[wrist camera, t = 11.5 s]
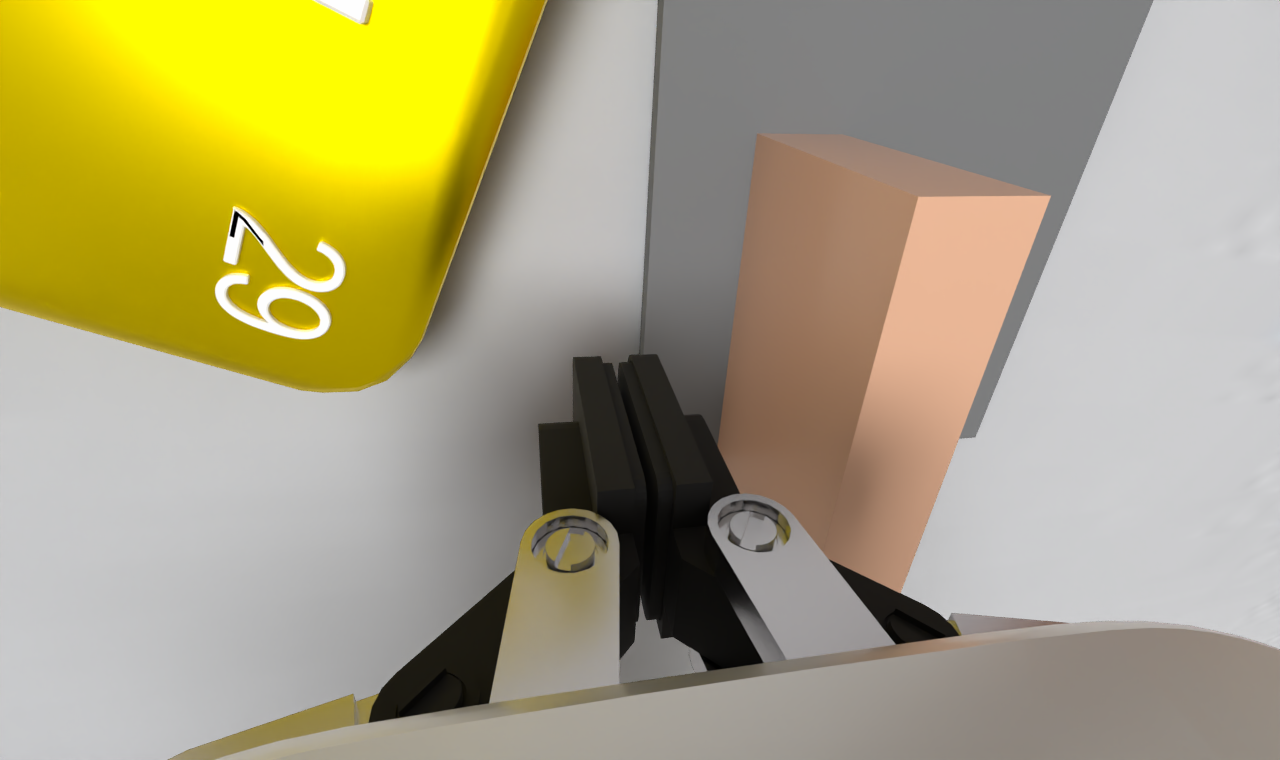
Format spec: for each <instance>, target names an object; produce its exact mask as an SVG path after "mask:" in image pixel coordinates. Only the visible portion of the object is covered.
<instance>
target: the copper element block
mask: <svg viewBox="0 0 1280 760" xmlns="http://www.w3.org/2000/svg"><path fill="white" fill-rule="evenodd" d="M547 1H548V0H0V307H2V308H6V309H9V310H13V311H17V312H20V313H24V314H27V315H31V316H35V317H38V318H42V319H46V320H49V321H53V322H56V323H60V324H64V325H67V326H71V327H74V328H78V329H82V330H85V331H89V332H92V333H96V334H100V335H103V336H107V337H110V338H114V339H118V340H121V341H125V342H128V343H132V344H136V345H139V346H143V347H146V348H150V349H154V350H157V351H161V352H165V353H168V354H172V355H175V356H179V357H183V358H186V359H190V360H193V361H197V362H201V363H204V364H208V365H211V366H215V367H219V368H222V369H226V370H229V371H233V372H237V373H240V374H244V375H247V376H251V377H255V378H258V379H262V380H265V381H269V382H273V383H276V384H280V385H284V386H287V387H291V388H294V389H298V390H303V391H312V392H322V393H324V392H352V391H360V390H363V389H365V388H368V387H371V386H373V385H376V384H379V383H381V382H384V381H386V380H388V379H389V378H390V377H391V376H392V375H393V374H394V373H395V372H396V371H398V370H399V369H400V368H401V367H402V366H403V365H404V364H405V363H406V362H407V361H408V360H409V359H410V358H411V357H412V356H413V354H414V353H415V351H416V349H417V348H418V346H419V344H420V343H421V341H422V339H423V338H424V335H425V333H426V330H427V327H428V324H429V322H430V319H431V316H432V314H433V311H434V308H435V305H436V303H437V300H438V297H439V295H440V292H441V289H442V286H443V284H444V281H445V278H446V276H447V273H448V270H449V267H450V265H451V262H452V259H453V256H454V254H455V251H456V248H457V246H458V243H459V240H460V237H461V235H462V232H463V229H464V227H465V224H466V221H467V218H468V216H469V213H470V210H471V207H472V205H473V202H474V199H475V197H476V194H477V191H478V188H479V186H480V183H481V180H482V178H483V175H484V172H485V169H486V167H487V164H488V161H489V159H490V156H491V153H492V150H493V148H494V145H495V142H496V139H497V137H498V134H499V131H500V129H501V126H502V123H503V120H504V118H505V115H506V112H507V110H508V107H509V104H510V101H511V99H512V96H513V93H514V90H515V88H516V85H517V82H518V80H519V77H520V74H521V71H522V69H523V66H524V63H525V61H526V58H527V55H528V52H529V50H530V47H531V44H532V42H533V39H534V36H535V33H536V31H537V28H538V25H539V22H540V20H541V17H542V14H543V12H544V9H545V6H546V3H547Z"/></svg>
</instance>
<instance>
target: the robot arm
mask: <svg viewBox="0 0 1280 760" xmlns="http://www.w3.org/2000/svg"><path fill="white" fill-rule="evenodd" d="M538 429H539V450H540V470H541V490H542V509H543V516H542V517H540V518H539V519H537V520H535V521H534V522H533V523H532V524H531V525H530V526H529V527H528V528H527V530H526V531H525V533H524V535H523V538H522V540H521V543H520V548H519V553H518V558H517V563H516V568H515V571H514V572H512V573H511V574H510V575H509V576H508V577H507V578H505V579H504V580H503V581H502V582H501V583H500V584H499V585H497V586H496V587H495V588H494V589H493V590H492V591H490V592H489V593H488V594H487V595H486V596H485V597H484V598H482V599H481V600H480V601H479V602H478V603H477V604H475V605H474V606H473V607H472V608H471V609H470V610H469V611H467V612H466V613H465V614H464V615H463V616H462V617H460V618H459V619H458V620H457V621H456V622H455V623H454V624H452V625H451V626H450V627H449V628H448V629H447V630H445V631H444V632H443V633H442V634H441V635H440V636H439V637H437V638H436V639H435V640H434V641H433V642H432V643H430V644H429V645H428V646H427V647H426V648H425V649H423V650H422V651H421V652H420V653H419V654H418V655H417V656H415V657H414V658H413V659H412V660H411V661H410V662H408V663H407V664H406V665H405V666H404V667H403V668H402V669H400V670H399V671H398V672H397V673H396V674H395V675H394V676H393V677H392V678H391V679H390V680H389V681H388V682H387V684H386V685H385V686H384V687H383V688H382V689H381V691H380V693H379V694H377V695H374V696H371V697H368V698H365V699H362V700H359V701H356V700H355V697H354V694H351V695H348V696H345V697H343V698H340V699H337V700H334V701H331V702H328V703H325V704H322V705H319V706H316V707H313V708H310V709H307V710H304V711H301V712H298V713H295V714H292V715H289V716H286V717H284V718H281V719H278V720H275V721H272V722H269V723H266V724H263V725H260V726H257V727H254V728H251V729H248V730H245V731H242V732H239V733H236V734H233V735H230V736H227V737H225V738H222V739H219V740H216V741H213V742H210V743H207V744H204V745H201V746H198V747H195V748H192V749H189V750H187V751H185V752H182V753H180V754H178V755H176V756H174V757H172V758H170V759H168V760H1280V649H1278V648H1275V647H1272V646H1269V645H1266V644H1264V643H1261V642H1257V641H1254V640H1251V639H1247V638H1244V637H1240V636H1237V635H1233V634H1229V633H1224V632H1219V631H1214V630H1209V629H1204V628H1199V627H1195V626H1190V625H1180V624H1169V623H1159V622H1148V621H1096V622H1081V623H1064V622H1052V621H1041V620H1029V619H1017V618H1005V617H994V616H982V615H970V614H958V613H951V615H950V617H949V619H948V620H946V619H944V618H943V617H942V616H941V615H940V614H939V613H937V612H935V611H934V610H932V609H930V608H929V607H927V606H925V605H924V604H922V603H919V602H917V601H915V600H913V599H911V598H909V597H907V596H905V595H903V594H901V593H899V592H897V591H894V590H892V589H890V588H888V587H886V586H884V585H882V584H880V583H878V582H876V581H874V580H871V579H869V578H867V577H865V576H863V575H861V574H859V573H857V572H855V571H853V570H851V569H848V568H846V567H844V566H842V565H840V564H838V563H836V562H834V561H832V560H830V559H828V558H827V557H826V556H825V554H824V553H823V552H822V550H821V549H820V548H819V547H818V545H817V544H816V543H815V542H814V540H813V539H812V538H811V537H810V535H809V534H808V533H807V531H806V530H805V529H804V528H803V526H802V525H801V524H800V523H799V521H798V520H797V519H796V518H795V516H794V515H793V514H792V513H791V512H790V511H789V510H788V509H787V508H786V507H784V506H783V505H781V504H779V503H778V502H776V501H774V500H772V499H769V498H766V497H763V496H760V495H754V494H747V493H745V494H740V492H739V490H738V488H737V486H736V484H735V482H734V479H733V477H732V475H731V473H730V471H729V469H728V467H727V465H726V463H725V461H724V459H723V457H722V455H721V453H720V451H719V448H718V446H717V444H716V442H715V440H714V438H713V436H712V434H711V432H710V430H709V428H708V426H707V424H706V422H705V420H704V418H703V417H702V415H700V414H691V415H684V414H683V412H682V410H681V407H680V405H679V403H678V400H677V398H676V396H675V393H674V391H673V389H672V387H671V384H670V382H669V380H668V377H667V375H666V373H665V371H664V368H663V366H662V364H661V361H660V359H659V357H658V355H657V354H644V355H629V358H628V362H621V363H619V368H618V383H617V379H616V376H615V372H614V369H613V365H612V363H603V362H602V358H601V356H596V357H573V422H561V423H545V424H538ZM640 595H641V600H642V605H643V609H644V614H645V617H646V620H654V619H656V620H657V624H658V628H659V632H660V637H661V639H662V638H669V637H674V638H676V639H677V640H679V641H680V642H682V643H684V644H685V645H687V646H688V647H689V657H690V661H691V665H692V667H693V670H694V672H695V673H692V674H685V675H678V676H671V677H664V678H657V679H651V680H644V681H637V682H630V683H623V684H619V660H620V659H621V658H622V656H623V655H624V654H625V653H626V651H627V650H628V649H629V648H630V646H631V645H632V644H633V643H634V640H635V626H636V622H637V621H638V618H639V604H640Z"/></svg>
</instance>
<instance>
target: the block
mask: <svg viewBox="0 0 1280 760" xmlns="http://www.w3.org/2000/svg"><path fill="white" fill-rule="evenodd" d="M1050 197H1051V196H1050V195H1047V194H1044V193H1040V192H1037V191H1033V190H1030V189H1027V188H1023V187H1020V186H1016V185H1013V184H1010V183H1006V182H1003V181H999V180H996V179H993V178H989V177H986V176H982V175H979V174H976V173H972V172H969V171H966V170H962V169H959V168H955V167H952V166H949V165H945V164H942V163H938V162H935V161H932V160H928V159H925V158H921V157H918V156H915V155H911V154H908V153H904V152H901V151H898V150H894V149H891V148H888V147H884V146H881V145H877V144H874V143H871V142H867V141H864V140H860V139H857V138H854V137H850V136H847V135H843V134H771V133H757V138H756V146H755V154H754V162H753V170H752V178H751V186H750V194H749V202H748V210H747V218H746V225H745V233H744V241H743V249H742V257H741V265H740V273H739V281H738V289H737V297H736V304H735V312H734V320H733V328H732V336H731V344H730V352H729V360H728V368H727V376H726V383H725V391H724V399H723V407H722V415H721V423H720V431H719V439H718V448H719V451H720V453H721V455H722V457H723V459H724V461H725V463H726V465H727V467H728V469H729V471H730V473H731V475H732V477H733V479H734V482H735V484H736V486H737V488H738V490H739V492H740V494H745V493H747V494H754V495H760V496H763V497H766V498H769V499H772V500H774V501H776V502H778V503H779V504H781V505H783V506H784V507H786V508H787V509H788V510H789V511H790V512H791V513H792V514H793V515H794V516H795V518H796V519H797V520H798V521H799V523H800V524H801V525H802V526H803V528H804V529H805V530H806V531H807V533H808V534H809V535H810V537H811V538H812V539H813V540H814V542H815V543H816V544H817V545H818V547H819V548H820V549H821V550H822V552H823V553H824V554H825V556H826V557H827V558H828V559H830V560H832V561H834V562H836V563H838V564H840V565H842V566H844V567H846V568H848V569H851V570H853V571H855V572H857V573H859V574H861V575H863V576H865V577H867V578H869V579H871V580H874V581H876V582H878V583H880V584H882V585H884V586H886V587H888V588H890V589H892V590H894V591H897V592H899V593H901V590H902V588H903V585H904V582H905V580H906V577H907V574H908V572H909V569H910V566H911V564H912V561H913V559H914V556H915V553H916V551H917V548H918V545H919V543H920V540H921V537H922V535H923V532H924V530H925V527H926V524H927V522H928V519H929V516H930V514H931V511H932V508H933V506H934V503H935V501H936V498H937V495H938V493H939V490H940V487H941V485H942V482H943V479H944V477H945V474H946V472H947V469H948V466H949V464H950V461H951V458H952V456H953V453H954V450H955V448H956V445H957V443H958V440H959V437H960V435H961V432H962V429H963V427H964V424H965V421H966V419H967V416H968V414H969V411H970V408H971V406H972V403H973V400H974V398H975V395H976V392H977V390H978V387H979V385H980V382H981V379H982V377H983V374H984V371H985V369H986V366H987V363H988V361H989V358H990V356H991V353H992V350H993V348H994V345H995V342H996V340H997V337H998V334H999V332H1000V329H1001V327H1002V324H1003V321H1004V319H1005V316H1006V313H1007V311H1008V308H1009V305H1010V303H1011V300H1012V298H1013V295H1014V292H1015V290H1016V287H1017V284H1018V282H1019V279H1020V277H1021V274H1022V271H1023V269H1024V266H1025V263H1026V261H1027V258H1028V255H1029V253H1030V250H1031V248H1032V245H1033V242H1034V240H1035V237H1036V234H1037V232H1038V229H1039V226H1040V224H1041V221H1042V219H1043V216H1044V213H1045V211H1046V208H1047V205H1048V203H1049V200H1050Z"/></svg>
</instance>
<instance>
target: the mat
mask: <svg viewBox="0 0 1280 760" xmlns="http://www.w3.org/2000/svg"><path fill="white" fill-rule="evenodd" d="M1152 3H1153V0H658V16H657V35H656V54H655V73H654V92H653V111H652V130H651V148H650V167H649V186H648V205H647V224H646V243H645V262H644V281H643V300H642V319H641V337H640V355H644V354H657V355H658V357H659V359H660V361H661V364H662V366H663V368H664V371H665V373H666V375H667V377H668V380H669V382H670V384H671V387H672V389H673V391H674V393H675V396H676V398H677V400H678V403H679V405H680V407H681V410H682V412H683V414H684V415H691V414H700V415H702V417H703V418H704V420H705V422H706V424H707V426H708V428H709V430H710V432H711V434H712V436H713V438H714V440H715V442H716V444H717V446H718V439H719V431H720V423H721V415H722V407H723V399H724V391H725V383H726V376H727V368H728V360H729V352H730V344H731V336H732V328H733V320H734V312H735V304H736V297H737V289H738V281H739V273H740V265H741V257H742V249H743V241H744V233H745V225H746V218H747V210H748V202H749V194H750V186H751V178H752V170H753V162H754V154H755V146H756V138H757V133H771V134H843V135H847V136H850V137H854V138H857V139H860V140H864V141H867V142H871V143H874V144H877V145H881V146H884V147H888V148H891V149H894V150H898V151H901V152H904V153H908V154H911V155H915V156H918V157H921V158H925V159H928V160H932V161H935V162H938V163H942V164H945V165H949V166H952V167H955V168H959V169H962V170H966V171H969V172H972V173H976V174H979V175H982V176H986V177H989V178H993V179H996V180H999V181H1003V182H1006V183H1010V184H1013V185H1016V186H1020V187H1023V188H1027V189H1030V190H1033V191H1037V192H1040V193H1044V194H1047V195H1050V196H1051V197H1050V200H1049V203H1048V205H1047V208H1046V211H1045V213H1044V216H1043V219H1042V221H1041V224H1040V226H1039V229H1038V232H1037V234H1036V237H1035V240H1034V242H1033V245H1032V248H1031V250H1030V253H1029V255H1028V258H1027V261H1026V263H1025V266H1024V269H1023V271H1022V274H1021V277H1020V279H1019V282H1018V284H1017V287H1016V290H1015V292H1014V295H1013V298H1012V300H1011V303H1010V305H1009V308H1008V311H1007V313H1006V316H1005V319H1004V321H1003V324H1002V327H1001V329H1000V332H999V334H998V337H997V340H996V342H995V345H994V348H993V350H992V353H991V356H990V358H989V361H988V363H987V366H986V369H985V371H984V374H983V377H982V379H981V382H980V385H979V387H978V390H977V392H976V395H975V398H974V400H973V403H972V406H971V408H970V411H969V414H968V416H967V419H966V421H965V424H964V427H963V429H962V432H961V435H960V437H959V439H960V438H972V437H975V436H976V434H977V432H978V429H979V427H980V424H981V422H982V419H983V417H984V414H985V412H986V410H987V407H988V405H989V402H990V400H991V397H992V395H993V392H994V390H995V387H996V385H997V383H998V380H999V378H1000V375H1001V373H1002V370H1003V368H1004V365H1005V363H1006V360H1007V358H1008V356H1009V353H1010V351H1011V348H1012V346H1013V343H1014V341H1015V338H1016V336H1017V334H1018V331H1019V329H1020V326H1021V324H1022V321H1023V319H1024V316H1025V314H1026V311H1027V309H1028V307H1029V304H1030V302H1031V299H1032V297H1033V294H1034V292H1035V289H1036V287H1037V284H1038V282H1039V280H1040V277H1041V275H1042V272H1043V270H1044V267H1045V265H1046V262H1047V260H1048V258H1049V255H1050V253H1051V250H1052V248H1053V245H1054V243H1055V240H1056V238H1057V235H1058V233H1059V231H1060V228H1061V226H1062V223H1063V221H1064V218H1065V216H1066V213H1067V211H1068V208H1069V206H1070V204H1071V201H1072V199H1073V196H1074V194H1075V191H1076V189H1077V186H1078V184H1079V182H1080V179H1081V177H1082V174H1083V172H1084V169H1085V167H1086V164H1087V162H1088V159H1089V157H1090V155H1091V152H1092V150H1093V147H1094V145H1095V142H1096V140H1097V137H1098V135H1099V133H1100V130H1101V128H1102V125H1103V123H1104V120H1105V118H1106V115H1107V113H1108V110H1109V108H1110V106H1111V103H1112V101H1113V98H1114V96H1115V93H1116V91H1117V88H1118V86H1119V83H1120V81H1121V79H1122V76H1123V74H1124V71H1125V69H1126V66H1127V64H1128V61H1129V59H1130V57H1131V54H1132V52H1133V49H1134V47H1135V44H1136V42H1137V39H1138V37H1139V34H1140V32H1141V30H1142V27H1143V25H1144V22H1145V20H1146V17H1147V15H1148V12H1149V10H1150V7H1151V5H1152Z"/></svg>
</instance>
